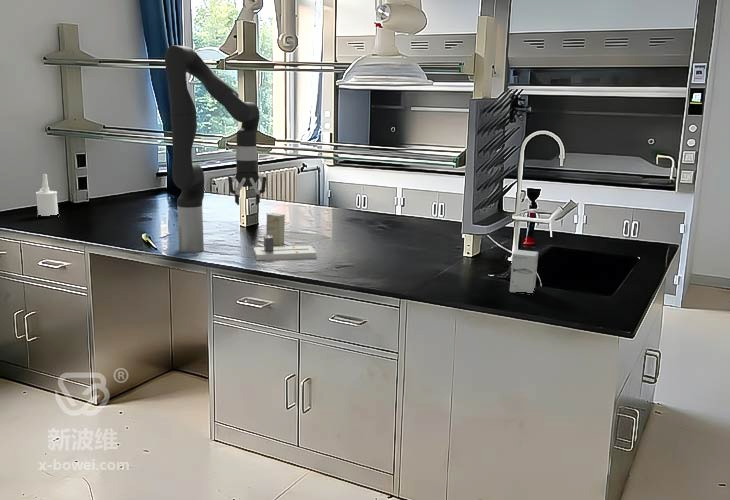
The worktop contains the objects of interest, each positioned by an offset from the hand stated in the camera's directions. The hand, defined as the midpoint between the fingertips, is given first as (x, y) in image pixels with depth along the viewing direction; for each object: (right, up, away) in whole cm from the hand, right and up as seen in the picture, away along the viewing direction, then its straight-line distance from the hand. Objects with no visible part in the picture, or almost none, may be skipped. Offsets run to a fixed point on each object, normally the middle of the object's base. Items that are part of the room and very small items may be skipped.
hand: (247, 204), depth 256 cm
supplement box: (+93, -30, -33) cm, 103 cm away
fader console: (+13, -19, +8) cm, 24 cm away
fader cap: (+7, -17, +6) cm, 19 cm away
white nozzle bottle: (-107, -1, +74) cm, 130 cm away
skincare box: (+7, -14, +26) cm, 31 cm away
